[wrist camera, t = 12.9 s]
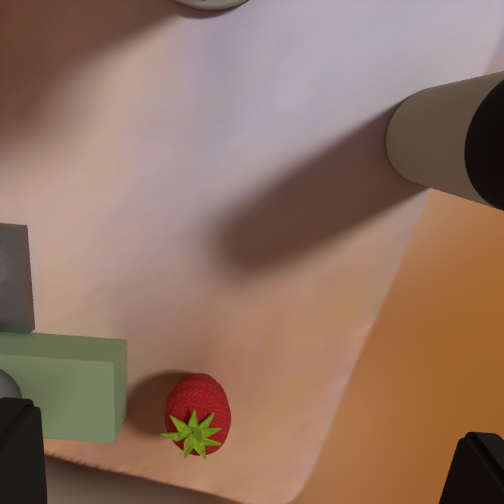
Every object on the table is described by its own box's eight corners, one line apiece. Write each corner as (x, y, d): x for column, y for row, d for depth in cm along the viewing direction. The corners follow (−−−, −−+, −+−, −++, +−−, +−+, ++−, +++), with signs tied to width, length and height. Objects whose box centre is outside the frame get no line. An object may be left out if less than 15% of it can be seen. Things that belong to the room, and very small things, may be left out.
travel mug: (389, 87, 33) (543, 41, 16) (484, 87, 33) (742, 41, 16) (380, 184, 35) (507, 235, 18) (469, 183, 35) (679, 234, 18)
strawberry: (184, 414, 42) (165, 497, 33) (168, 352, 40) (143, 422, 30) (238, 406, 42) (236, 487, 32) (225, 344, 40) (218, 411, 30)
